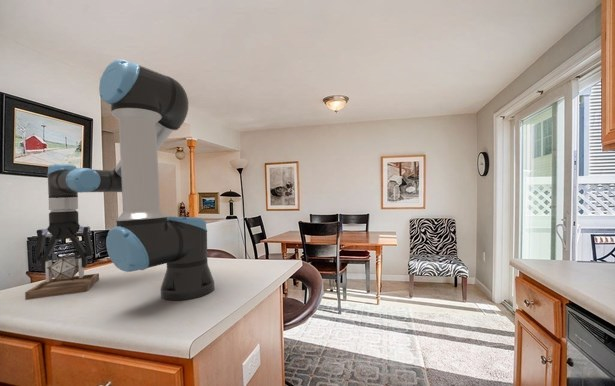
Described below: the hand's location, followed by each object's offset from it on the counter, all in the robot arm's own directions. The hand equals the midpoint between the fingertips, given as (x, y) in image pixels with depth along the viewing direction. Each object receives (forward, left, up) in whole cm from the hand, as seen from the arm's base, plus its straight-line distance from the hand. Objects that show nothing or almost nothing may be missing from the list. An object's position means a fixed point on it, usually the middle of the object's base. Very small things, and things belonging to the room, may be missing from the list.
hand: (65, 278), depth 96 cm
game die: (0, 0, -1) cm, 1 cm away
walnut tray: (0, 0, -3) cm, 3 cm away
